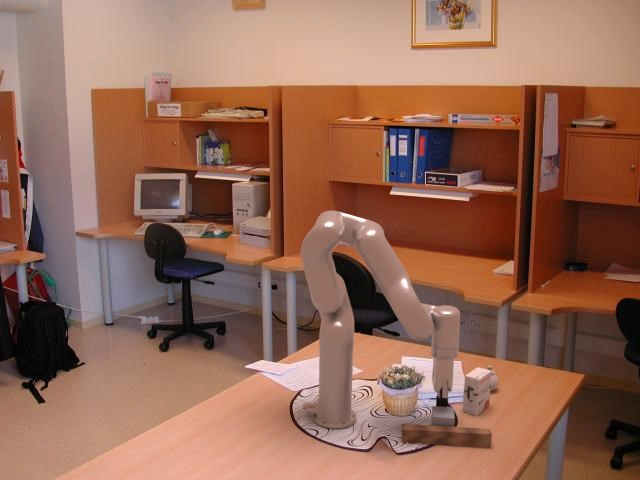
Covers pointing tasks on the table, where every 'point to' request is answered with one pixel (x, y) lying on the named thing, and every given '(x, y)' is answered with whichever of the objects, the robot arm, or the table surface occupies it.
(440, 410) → the block
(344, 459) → the table surface
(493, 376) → the ornament
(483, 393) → the ink box
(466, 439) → the board
